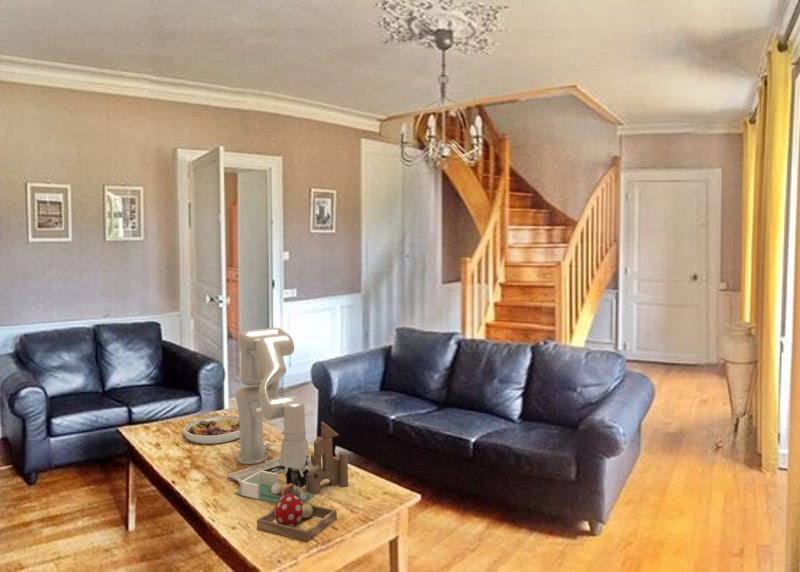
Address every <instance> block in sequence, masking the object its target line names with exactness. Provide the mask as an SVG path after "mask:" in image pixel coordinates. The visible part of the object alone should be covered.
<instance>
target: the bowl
mask: <svg viewBox="0 0 800 572" xmlns="http://www.w3.org/2000/svg"><path fill="white" fill-rule="evenodd" d="M183 433H184V434H183V435H184V437H185V438H186V439H187V440H188V441H191V442H192V443H196V444H199V445H200V444H202V445H216V444H217V445H218V444H223V443H229V442H233V441H235V440H238V439H240V425H239V416H235V415H219V416H210V417H204V418H201V419H197V420H193V421H191V422H189V423H188V424H186V425H185V426H184V428H183Z"/></svg>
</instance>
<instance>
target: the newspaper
mask: <svg viewBox="0 0 800 572" xmlns="http://www.w3.org/2000/svg"><path fill="white" fill-rule="evenodd" d="M280 457H281V455H280V456H279V457H277V458H274V459H271V460H268V461H266V462H264V463H258V464H256V465H254V466H249V467H246V468H243V469H239V470H237V471H233V472H230V473H227V477H226V480H227V481H229V482H233V481H237V482H238V483H237V485H239V486H240V482H241V481H242V480H244V479H246V478H248V477H250V476H251V475H253V474H255V473H257V472H259V471H260V470H262V471H267V472H272V473H277V474H278V475H280V474H283V473H284V470H283V468H282V466H281V465H280V464H279V463H278V461H279V460H280ZM310 462H311V456H310ZM292 470H293V468H292ZM284 474H285V473H284Z"/></svg>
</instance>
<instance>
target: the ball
mask: <svg viewBox="0 0 800 572" xmlns="http://www.w3.org/2000/svg"><path fill="white" fill-rule="evenodd" d="M282 488H283V486H282V484H280V483H279V482H278V483H276V484H274V485H273V486H272V487H271V492H272V493H273V494H274V495H278V494H280V493H281V490H282Z"/></svg>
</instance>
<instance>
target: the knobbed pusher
mask: <svg viewBox="0 0 800 572" xmlns="http://www.w3.org/2000/svg"><path fill="white" fill-rule="evenodd" d="M300 476H301V474H300V471H299V470H298V469H292V470H291V483H290V484H287V485H286V486H285V487H282V488H283V489H282V490H281V496H282V497H283V496H284V495H287V494H292V495H295V496H297V497H298V498H299V499H300V500H301V501H304V500H305V499H307V495H304V494H300V492H301V487H300V479H299V477H300Z"/></svg>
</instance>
